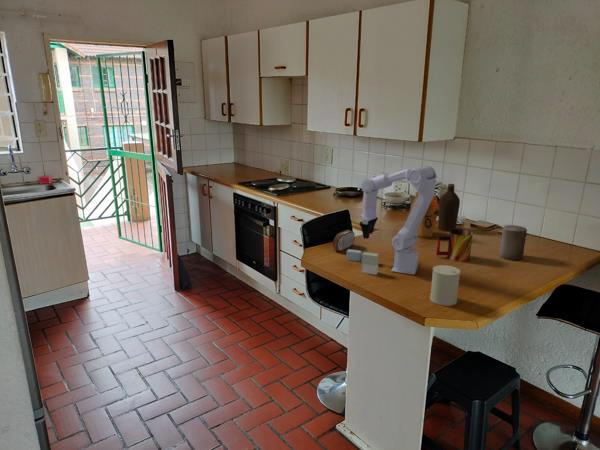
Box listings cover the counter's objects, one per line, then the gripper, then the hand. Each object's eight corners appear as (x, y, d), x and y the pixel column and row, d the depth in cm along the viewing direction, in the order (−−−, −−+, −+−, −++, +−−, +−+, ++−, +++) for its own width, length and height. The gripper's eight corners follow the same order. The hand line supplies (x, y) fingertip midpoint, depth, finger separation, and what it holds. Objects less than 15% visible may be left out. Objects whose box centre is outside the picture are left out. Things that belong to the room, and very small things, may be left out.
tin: (349, 244, 213) (350, 227, 211) (355, 245, 211) (356, 228, 209) (332, 252, 202) (332, 234, 199) (337, 253, 200) (338, 236, 198)
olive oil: (455, 233, 232) (460, 186, 225) (434, 230, 236) (439, 184, 229) (458, 227, 241) (463, 183, 234) (438, 225, 245) (442, 181, 238)
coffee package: (419, 239, 221) (422, 196, 215) (406, 232, 233) (409, 191, 226) (435, 237, 224) (440, 195, 218) (422, 230, 236) (425, 190, 229)
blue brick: (361, 259, 193) (361, 250, 192) (359, 261, 191) (359, 253, 189) (348, 257, 195) (348, 249, 194) (346, 259, 193) (346, 251, 192)
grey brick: (377, 272, 179) (378, 263, 178) (376, 274, 176) (376, 265, 175) (363, 270, 181) (364, 261, 180) (361, 272, 178) (362, 263, 177)
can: (450, 308, 148) (454, 275, 145) (425, 300, 154) (428, 268, 151) (461, 299, 155) (465, 268, 152) (436, 292, 161) (439, 261, 158)
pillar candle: (527, 259, 194) (532, 227, 190) (507, 261, 192) (512, 228, 188) (513, 252, 203) (518, 221, 199) (494, 253, 201) (498, 222, 197)
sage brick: (377, 263, 178) (378, 253, 177) (376, 265, 175) (376, 256, 174) (363, 261, 180) (363, 252, 179) (361, 263, 177) (362, 254, 176)
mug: (435, 257, 196) (437, 231, 193) (458, 252, 202) (461, 228, 199) (450, 264, 188) (453, 237, 185) (474, 259, 194) (477, 234, 190)
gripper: (364, 201, 196) (363, 230, 200) (356, 208, 183) (355, 239, 187) (380, 202, 193) (378, 232, 197) (373, 210, 180) (371, 241, 184)
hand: (368, 235), depth 192 cm, fingers open, 7 cm apart
